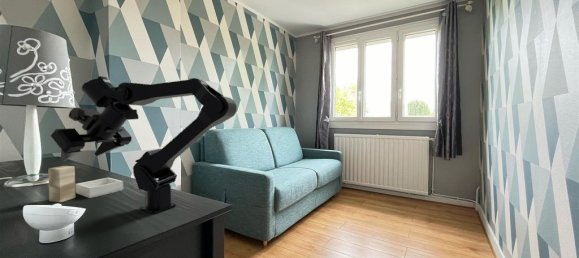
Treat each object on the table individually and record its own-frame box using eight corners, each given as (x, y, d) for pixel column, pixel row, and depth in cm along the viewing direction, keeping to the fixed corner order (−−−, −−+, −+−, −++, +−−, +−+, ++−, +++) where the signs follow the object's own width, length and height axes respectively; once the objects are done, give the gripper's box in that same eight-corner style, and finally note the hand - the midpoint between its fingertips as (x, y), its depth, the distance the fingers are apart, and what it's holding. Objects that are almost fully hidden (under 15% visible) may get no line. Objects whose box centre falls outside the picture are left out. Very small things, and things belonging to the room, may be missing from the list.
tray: (123, 190, 80) (123, 181, 80) (90, 198, 72) (89, 188, 72) (108, 186, 84) (108, 177, 84) (75, 193, 76) (75, 183, 76)
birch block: (75, 197, 72) (74, 166, 72) (60, 202, 68) (59, 169, 68) (64, 196, 73) (63, 165, 72) (49, 201, 69) (48, 168, 68)
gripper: (123, 101, 76) (95, 134, 78) (55, 95, 57) (22, 139, 60) (145, 126, 75) (116, 159, 77) (83, 129, 56) (47, 172, 59)
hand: (80, 157), depth 68 cm, fingers open, 9 cm apart
